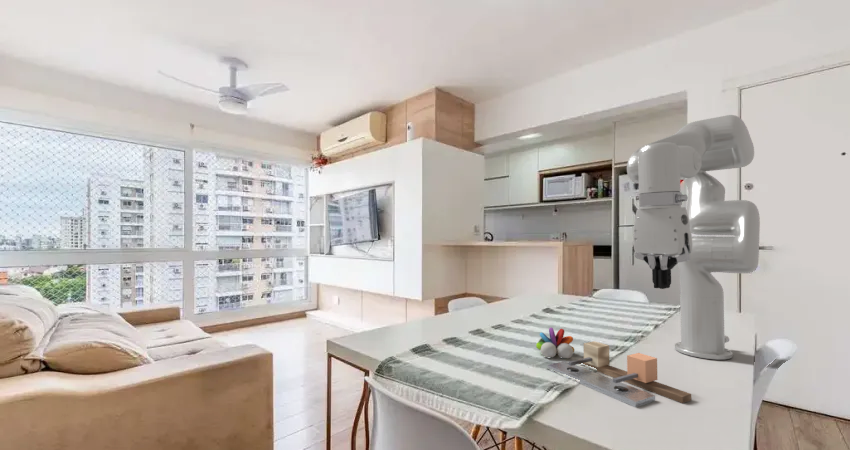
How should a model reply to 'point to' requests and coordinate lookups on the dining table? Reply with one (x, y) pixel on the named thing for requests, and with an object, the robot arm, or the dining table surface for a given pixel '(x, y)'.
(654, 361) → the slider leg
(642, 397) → the bolt-hole strip
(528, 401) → the dining table surface
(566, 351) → the rainbow fan toy
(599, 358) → the rail
